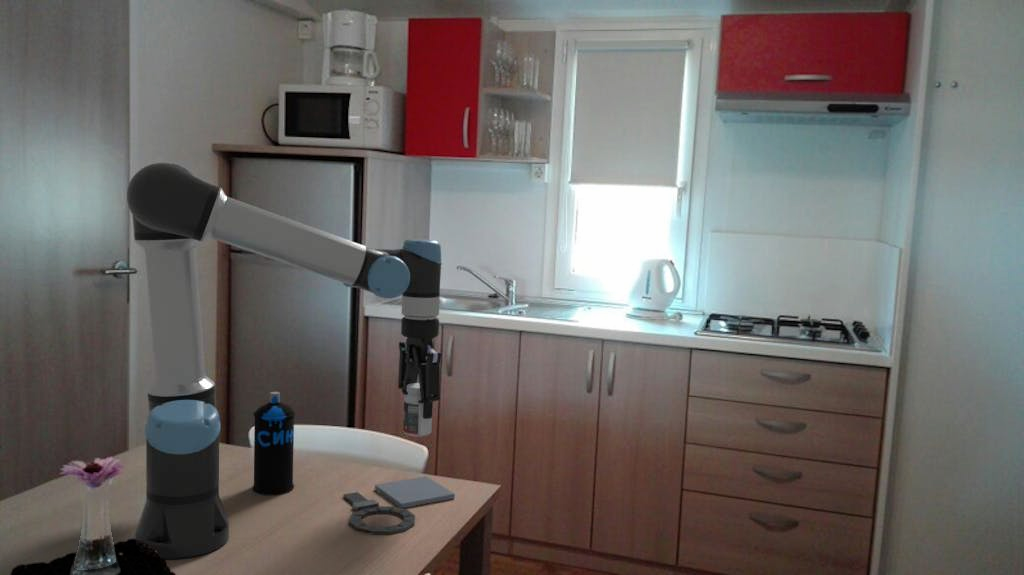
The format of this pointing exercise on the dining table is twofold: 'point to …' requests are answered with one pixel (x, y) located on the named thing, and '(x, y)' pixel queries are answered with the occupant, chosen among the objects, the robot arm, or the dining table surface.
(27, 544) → the dining table surface
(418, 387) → the pill bottle
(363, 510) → the iron eye
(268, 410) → the aerosol can
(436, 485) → the slate trivet
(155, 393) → the robot arm
